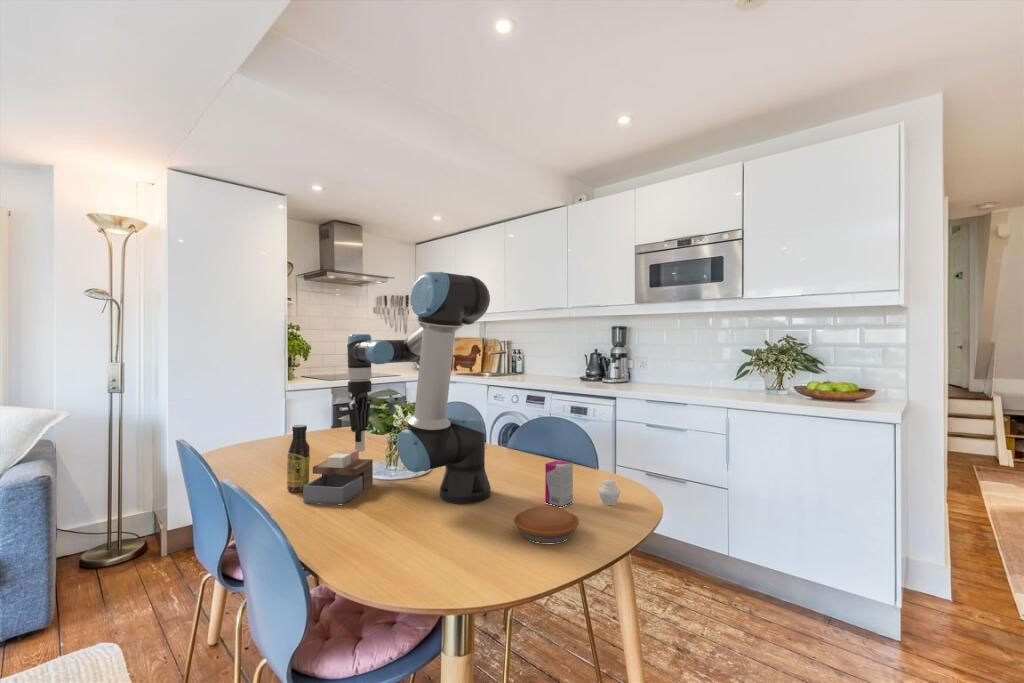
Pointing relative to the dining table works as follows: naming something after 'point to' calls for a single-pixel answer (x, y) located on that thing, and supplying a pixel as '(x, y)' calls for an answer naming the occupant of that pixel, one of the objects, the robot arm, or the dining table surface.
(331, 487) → the bin
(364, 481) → the plate
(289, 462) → the sauce bottle
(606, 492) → the small white jar
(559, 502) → the supplement box
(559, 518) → the pie
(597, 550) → the dining table surface
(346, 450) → the salmon pink square block
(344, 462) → the cream tile
